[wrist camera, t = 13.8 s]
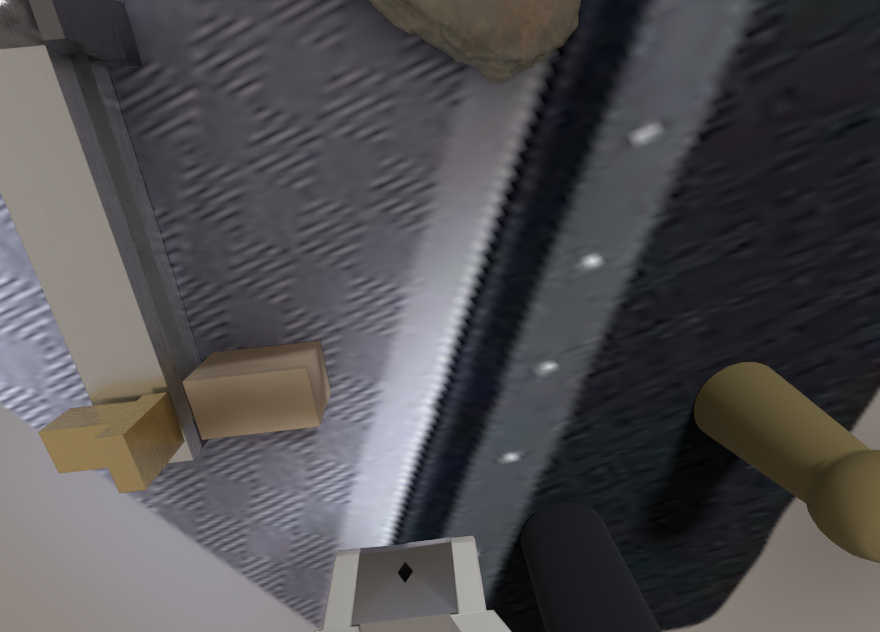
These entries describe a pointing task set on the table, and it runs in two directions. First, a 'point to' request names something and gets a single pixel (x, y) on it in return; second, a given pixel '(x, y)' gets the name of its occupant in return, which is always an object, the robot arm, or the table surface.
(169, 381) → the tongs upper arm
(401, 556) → the robot arm
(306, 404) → the tan wooden block
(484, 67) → the elongated rock
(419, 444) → the table surface
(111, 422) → the tan l-shaped block
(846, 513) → the cork
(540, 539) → the wine bottle
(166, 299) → the base
